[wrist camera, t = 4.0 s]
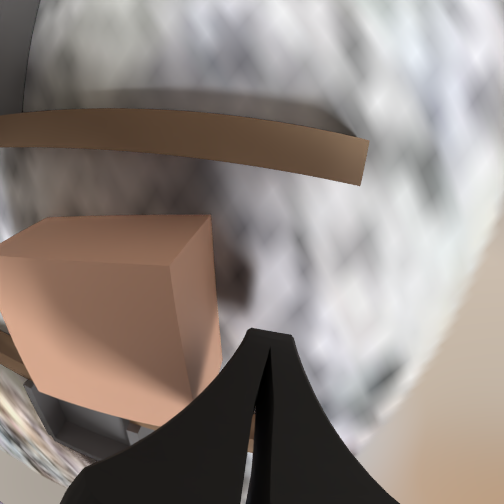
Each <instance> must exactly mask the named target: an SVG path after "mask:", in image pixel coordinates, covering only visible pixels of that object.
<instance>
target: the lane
mask: <svg viewBox="0 0 504 504" xmlns="http://www.w3.org/2000/svg"><path fill="white" fill-rule="evenodd" d="M368 146H369V140H365V139H361V138H358V137H353V136H349V135H345V134H340V133H335V132H331V131H326V130H321V129H316V128H311V127H305V126H300V125H294V124H288V123H282V122H276V121H270V120H263V119H256V118H249V117H241V116H232V115H224V114H214V113H203V112H191V111H177V110H159V109H127V108H97V109H66V110H49V111H36V112H25V113H16V114H8V115H0V147H50V148H81V149H100V150H116V151H130V152H142V153H153V154H164V155H173V156H182V157H191V158H199V159H207V160H215V161H223V162H230V163H237V164H244V165H250V166H257V167H263V168H269V169H275V170H281V171H287V172H292V173H298V174H303V175H308V176H314V177H319V178H324V179H329V180H334V181H338V182H343V183H348V184H353V185H357V186H360V185H361V180H362V176H363V171H364V166H365V161H366V156H367V151H368ZM0 364H2V365H3V366H5V367H7V368H9V369H10V370H12V371H14V372H16V373H18V374H19V375H21V376H23V377H25V378H27V379H29V380H31V381H33V380H32V378H31V376H30V375H29V373H28V371H27V369H26V367H25V365H24V363H23V361H22V359H21V357H20V355H19V353H18V350H17V348H16V346H15V344H14V342H13V340H12V337H11V336H10V335H8V334H6V333H4V332H2V331H0ZM129 421H130V423H133V424H136V425H139V426H142V427H145V428H149V429H152V430H157V429H158V428H160V426H155V425H150V424H146V423H141V422H137V421H133V420H129ZM254 427H255V414H253V417H252V423H251V430H250V437H249V444H248V451H247V452H251V453H253V443H254Z"/></svg>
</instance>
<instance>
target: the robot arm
mask: <svg viewBox="0 0 504 504" xmlns="http://www.w3.org/2000/svg"><path fill="white" fill-rule="evenodd" d="M255 406H256V410H255ZM254 410H255V427H254V443H253V459H252V470H251V478H250V483H249V489H248V494H247V500H246V504H400V503H398V502H397V501H396V500H395V499H394V498H392V497H391V496H390V495H389V494H388V493H387V492H386V491H385V490H384V489H383V488H382V487H381V486H380V485H379V484H378V483H377V482H376V481H375V480H374V479H373V478H372V477H371V476H370V475H369V473H368V472H367V471H366V470H365V469H364V468H363V466H362V465H361V464H360V463H359V462H358V460H357V459H356V458H355V457H354V456H353V454H352V453H351V452H350V451H349V449H348V448H347V446H346V445H345V444H344V442H343V441H342V440H341V438H340V437H339V435H338V434H337V432H336V431H335V429H334V427H333V426H332V424H331V423H330V421H329V419H328V418H327V416H326V414H325V412H324V411H323V409H322V407H321V405H320V403H319V401H318V399H317V397H316V395H315V393H314V391H313V389H312V387H311V385H310V382H309V380H308V378H307V376H306V373H305V371H304V368H303V366H302V363H301V360H300V358H299V355H298V352H297V348H296V345H295V341H294V338H293V337H292V335H289V334H283V333H277V332H272V331H266V330H261V329H255V328H250V329H248V330H247V332H246V335H245V337H244V339H243V341H242V342H241V344H240V346H239V347H238V349H237V350H236V352H235V353H234V355H233V356H232V358H231V359H230V360H229V361H228V363H227V364H226V365H225V367H224V368H223V369H222V371H221V372H220V373H219V374H218V375H217V376H216V377H215V379H214V380H213V381H212V382H211V383H210V384H209V385H208V386H207V387H206V388H205V389H204V390H203V391H202V392H201V393H200V394H199V395H198V396H197V397H196V398H195V399H194V400H193V401H192V402H191V403H190V404H189V405H188V406H186V407H185V408H184V409H183V410H182V411H181V412H179V413H178V414H177V415H175V416H174V417H173V418H172V419H170V420H169V421H168V422H166V423H165V424H164V425H162V426H161V427H160V428H158V429H157V430H155V431H154V432H152V433H151V434H149V435H147V436H146V437H144V438H142V439H141V440H139V441H137V442H136V443H134V444H132V445H131V446H129V447H127V448H125V449H124V450H122V451H120V452H118V453H116V454H114V455H111V456H109V457H107V458H105V459H103V460H101V461H98V462H96V463H94V464H92V465H89V466H87V467H85V468H84V469H83V470H82V471H81V472H80V473H79V474H78V476H77V477H76V478H75V479H74V481H73V482H72V484H71V485H70V486H69V487H68V489H67V491H66V492H65V494H64V496H63V498H62V500H61V502H60V504H240V502H241V494H242V487H243V480H244V473H245V465H246V458H247V451H248V444H249V437H250V430H251V423H252V417H253V413H254ZM0 504H3V503H2V502H1V501H0Z"/></svg>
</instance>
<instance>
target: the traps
mask: <svg viewBox="0 0 504 504" xmlns="http://www.w3.org/2000/svg"><path fill="white" fill-rule="evenodd" d="M39 2H40V0H0V115H8V114H16V113H22V106H23V94H24V84H25V75H26V68H27V61H28V55H29V49H30V43H31V38H32V33H33V28H34V23H35V19H36V14H37V10H38V6H39ZM23 385H24V387H25V389H26V391H27V394H28V396H29V398H30V400H31V402H32V404H33V406H34V408H35V410H36V412H37V414H38V416H39V418H40V420H41V421H42V423H43V425H44V427H45V429H46V431H47V432H48V434H49V435H51V436H52V437H53V439H54V440H55V441H56V442H58V443H60V444H62V445H64V446H66V447H68V448H71V449H73V450H75V451H77V452H79V453H81V454H84V455H86V456H88V457H90V458H93V459H95V460H97V461H101V460H103V459H105V458H107V457H109V456H111V455H114V454H116V453H118V452H120V451H122V450H124V449H125V448H127V447H129V446H131V445H132V444H134V443H136V442H137V441H139V440H141V439H142V438H144V437H146V436H147V435H149V434H151V433H152V432H154V431H155V430H152V429H149V428H145V427H142V426H139V425H136V424H133V423H130V421H129V419H125V418H121V417H117V416H113V415H109V414H106V413H102V412H99V411H95V410H92V409H89V408H85V407H82V406H79V405H76V404H73V403H70V402H67V401H64V400H61V399H58V398H55V397H52V396H50V395H47V394H44V393H42V392H39V391H38V389H37V387H36V386H35V384H34V382H33V381H31V380H29V379H28V380H27V381H26V382H25V383H24V384H23Z"/></svg>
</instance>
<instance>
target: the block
mask: <svg viewBox="0 0 504 504" xmlns="http://www.w3.org/2000/svg"><path fill="white" fill-rule="evenodd" d="M0 311H1V314H2V316H3V319H4V321H5V323H6V326H7V328H8V331H9V333H10V335H11V337H12V340H13V342H14V344H15V346H16V348H17V350H18V353H19V355H20V357H21V359H22V361H23V363H24V365H25V367H26V369H27V371H28V373H29V375H30V376H31V378H32V380H33V382H34V384H35V386H36V387H37V389H38V391H39V392H42V393H44V394H47V395H50V396H52V397H55V398H58V399H61V400H64V401H67V402H70V403H73V404H76V405H79V406H82V407H85V408H89V409H92V410H95V411H99V412H102V413H106V414H109V415H113V416H117V417H121V418H125V419H129V420H133V421H137V422H141V423H146V424H150V425H155V426H160V427H161V426H162V425H164V424H165V423H166V422H168V421H169V420H170V419H172V418H173V417H174V416H175V415H177V414H178V413H179V412H181V411H182V410H183V409H184V408H185V407H186V406H188V405H189V404H190V403H191V402H192V401H193V400H194V399H195V398H196V397H197V396H198V395H199V394H200V393H201V392H202V391H203V390H204V389H205V388H206V387H207V386H208V385H209V384H210V383H211V382H212V381H213V380H214V379H215V377H216V376H217V375H218V374H219V370H220V367H221V363H222V350H221V340H220V329H219V318H218V306H217V294H216V281H215V268H214V254H213V239H212V223H211V215H107V216H71V217H47V218H45V219H43V220H41V221H39V222H37V223H36V224H34V225H32V226H30V227H28V228H26V229H25V230H23V231H21V232H19V233H17V234H16V235H14V236H12V237H10V238H9V239H7V240H5V241H3V242H2V243H0Z"/></svg>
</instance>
